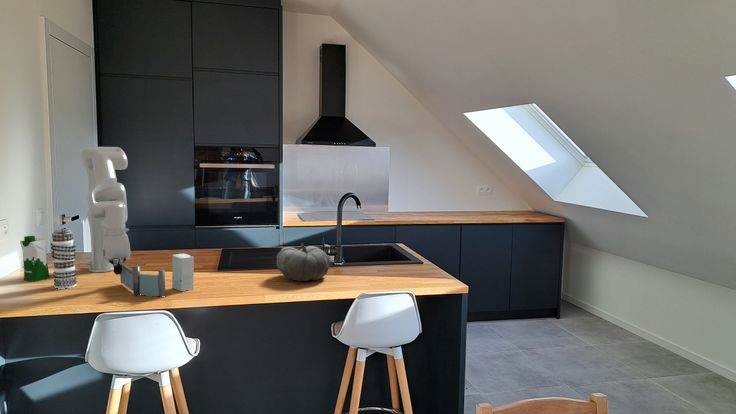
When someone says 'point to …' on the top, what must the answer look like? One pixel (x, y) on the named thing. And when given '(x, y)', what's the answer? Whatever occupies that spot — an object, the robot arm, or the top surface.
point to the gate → (127, 277)
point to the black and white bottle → (63, 259)
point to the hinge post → (136, 280)
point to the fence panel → (153, 284)
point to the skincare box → (182, 272)
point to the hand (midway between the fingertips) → (117, 273)
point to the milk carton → (35, 258)
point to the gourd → (303, 263)
